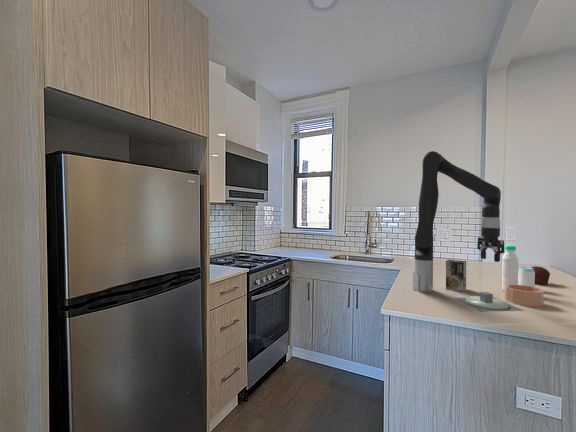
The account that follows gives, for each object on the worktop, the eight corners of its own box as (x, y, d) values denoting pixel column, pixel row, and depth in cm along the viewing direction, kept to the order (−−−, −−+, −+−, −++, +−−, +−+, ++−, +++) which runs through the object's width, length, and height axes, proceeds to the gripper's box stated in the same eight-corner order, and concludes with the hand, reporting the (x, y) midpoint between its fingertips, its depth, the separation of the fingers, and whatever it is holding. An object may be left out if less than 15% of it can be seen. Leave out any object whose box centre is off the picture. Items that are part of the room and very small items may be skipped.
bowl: (521, 307, 134) (522, 292, 133) (498, 298, 148) (498, 284, 147) (551, 307, 134) (551, 291, 134) (525, 298, 148) (525, 284, 148)
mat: (480, 312, 127) (480, 311, 127) (452, 298, 147) (452, 297, 147) (524, 311, 128) (524, 310, 128) (491, 298, 148) (491, 297, 148)
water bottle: (514, 290, 163) (515, 245, 162) (520, 293, 156) (521, 246, 155) (499, 289, 165) (500, 244, 164) (504, 292, 158) (505, 246, 158)
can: (517, 289, 165) (518, 267, 165) (519, 286, 170) (519, 266, 170) (534, 291, 160) (534, 269, 160) (534, 289, 165) (535, 267, 165)
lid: (481, 310, 129) (481, 298, 129) (457, 298, 146) (457, 288, 146) (518, 309, 130) (519, 298, 130) (490, 297, 147) (490, 287, 147)
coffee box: (466, 290, 163) (467, 261, 163) (463, 292, 158) (464, 262, 158) (448, 287, 169) (448, 259, 169) (445, 289, 165) (445, 260, 164)
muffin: (548, 286, 170) (548, 269, 170) (523, 283, 178) (524, 266, 178) (551, 283, 178) (551, 267, 177) (528, 280, 186) (528, 264, 186)
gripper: (472, 225, 149) (472, 257, 149) (494, 227, 135) (494, 263, 135) (486, 225, 150) (486, 257, 150) (510, 227, 135) (509, 262, 136)
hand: (490, 260), depth 143 cm, fingers open, 8 cm apart
